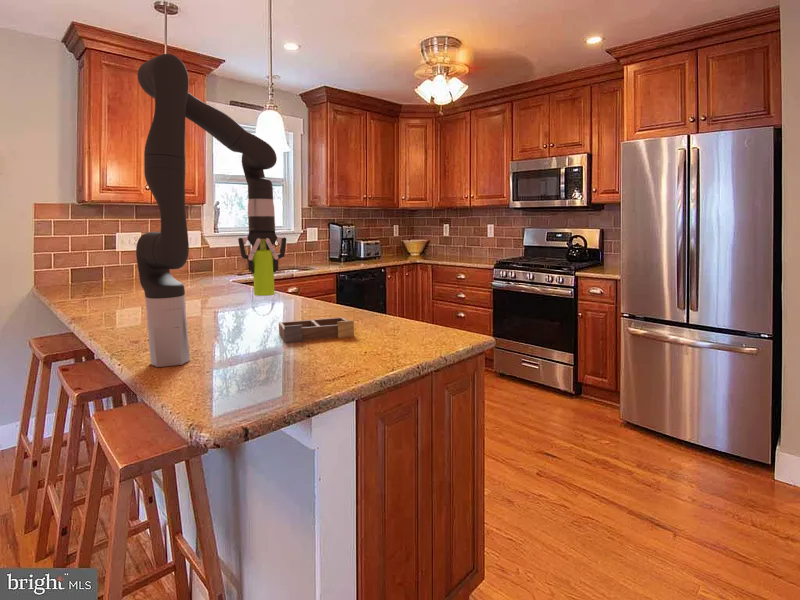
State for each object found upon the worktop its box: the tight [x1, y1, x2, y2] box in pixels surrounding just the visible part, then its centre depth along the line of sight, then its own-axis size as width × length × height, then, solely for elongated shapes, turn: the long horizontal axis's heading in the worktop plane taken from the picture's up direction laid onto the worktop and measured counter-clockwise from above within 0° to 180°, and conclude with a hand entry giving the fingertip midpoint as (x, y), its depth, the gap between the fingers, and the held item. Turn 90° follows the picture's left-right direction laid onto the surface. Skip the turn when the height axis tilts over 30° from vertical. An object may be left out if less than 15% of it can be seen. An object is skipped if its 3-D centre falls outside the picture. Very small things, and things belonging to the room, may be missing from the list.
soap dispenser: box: [252, 239, 276, 297], centre depth 153 cm, size 6×7×20 cm
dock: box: [278, 316, 355, 344], centre depth 162 cm, size 13×21×5 cm, turn 111°
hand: (263, 272), depth 154 cm, fingers closed on soap dispenser, 6 cm apart
